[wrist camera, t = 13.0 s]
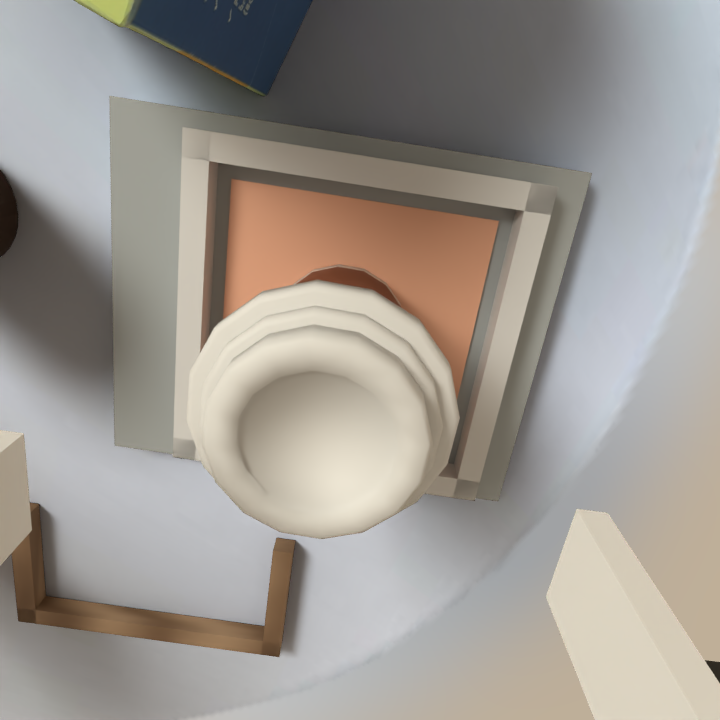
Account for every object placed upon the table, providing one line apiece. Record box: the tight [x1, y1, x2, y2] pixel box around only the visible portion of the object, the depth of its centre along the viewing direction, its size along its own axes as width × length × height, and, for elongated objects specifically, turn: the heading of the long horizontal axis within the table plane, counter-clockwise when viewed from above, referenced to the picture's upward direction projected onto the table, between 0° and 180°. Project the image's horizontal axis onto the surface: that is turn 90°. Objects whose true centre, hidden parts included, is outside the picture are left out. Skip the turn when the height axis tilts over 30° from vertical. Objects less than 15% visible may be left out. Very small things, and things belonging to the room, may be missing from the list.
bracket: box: [12, 503, 295, 657], centre depth 35 cm, size 17×9×1 cm, turn 82°
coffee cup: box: [186, 264, 460, 539], centre depth 22 cm, size 9×9×12 cm
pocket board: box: [109, 96, 592, 501], centre depth 28 cm, size 22×18×3 cm
